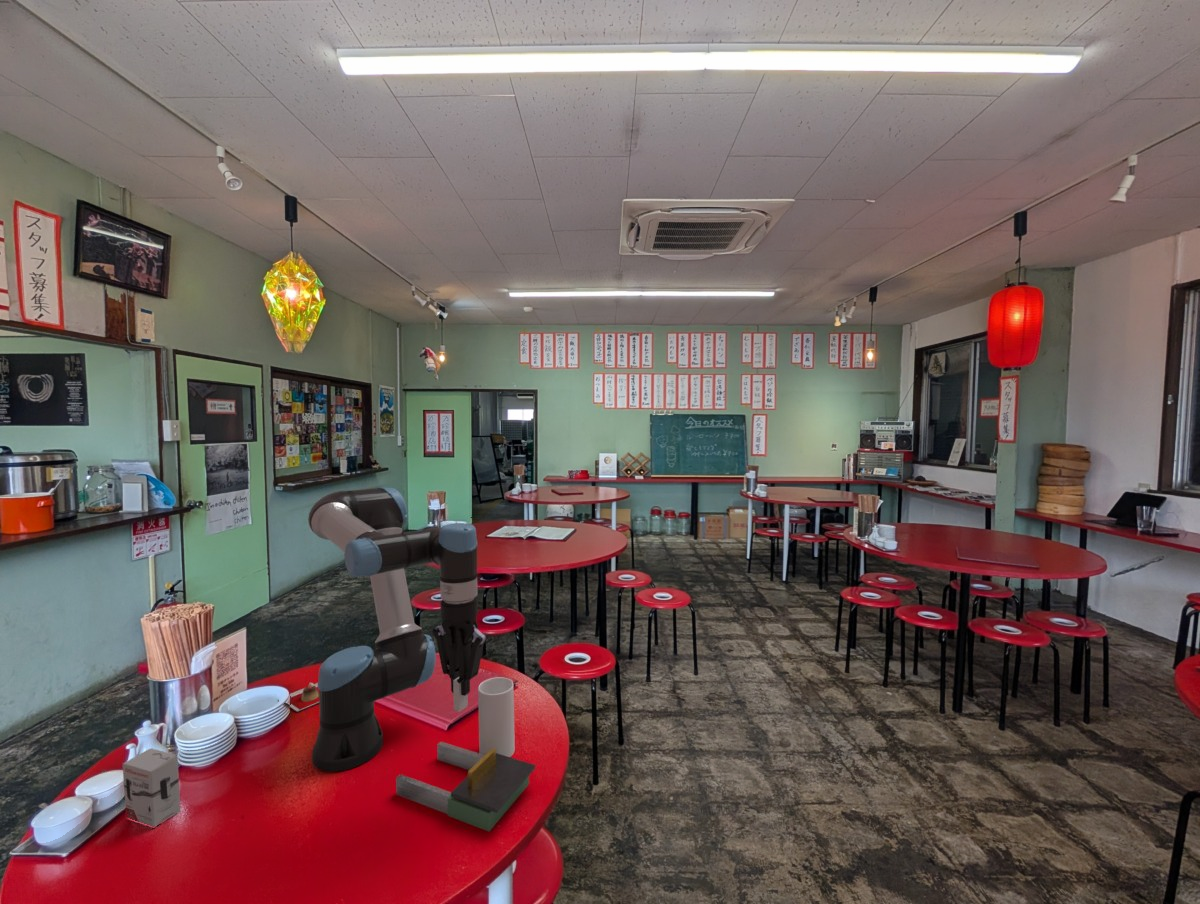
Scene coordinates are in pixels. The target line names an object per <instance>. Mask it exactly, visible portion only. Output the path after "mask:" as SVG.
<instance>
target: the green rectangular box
mask: <svg viewBox="0 0 1200 904" xmlns="http://www.w3.org/2000/svg"><path fill="white" fill-rule="evenodd" d="M529 785H530V775H529V776H528V777H527V779H526V780H525V781H524V782H523V783H522V784H521V786H520V787H519V788H518V789H517V790H516V791H515V793H514V794H513V795H512V796H511V797H510V798H509V800H508V801H507V802H506V803H505V804H504V805H503V807H502V808H501V809H500V810H499V811H498V813H495V812H492V811H490V810H487V809H484V808H481V807H479V806H476V805H473V804H471V803H468V802H465V801H462V800H460V799H457V798H454V797H451V796H450V797H448V798H447V799H448V814H447V816H448V817H449V818H453V819H456V820H458V821H460V822H463V823H465V824H468V825H471V826H474V827H476V828H479V829H481V830H484V831H486V832H491V830H493V828H494V827H495V825H496V824H497V823H498V822H499V821H500V820H501V818H502V817H503V816H504V814H506V812H507V811H508V810H509V809H510V808H511V807H512V805H513V804H514V803H515V801H516V800H517V799H519V797H520V795H522V793H523V792H524V791H525V790H526V788H528V786H529Z"/></svg>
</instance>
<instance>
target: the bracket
mask: <svg viewBox="0 0 1200 904" xmlns="http://www.w3.org/2000/svg"><path fill="white" fill-rule="evenodd" d="M436 745H437V746H436V747H437V751H436V752H437V760H438V761H441V762H443V763H445V764H446V763H447V764H450V765H452V766H456V767H459V768H462V769H464V770H468V771H469V770H470V769H471V768H472V767H473V766H474V765H475V764H476V763H477V762H478V761H479V760H480V759H482V758H483V757H484V756H485V755H483V754H480V752H476V751H472V750H470V749H466V748H463V747H459V746H456V745H453V744H450V743H447V742H444V741H440V742H438V743H437V744H436ZM395 783H396V785H395V786H396V796H399V797H402V798H405V799H406V800H410V801H413V802H415V803H417V804H420V805H423V806H425V807H427V808H431V809H433V810H435V811H438V812H440V813H444V814H446V815H448V799H447V798H448V797H450V796H451V792H452V791H448V790H447V789H442V788H440V787H438V786H436V785H435V786H434V785H431V784H429V783H426V782H423V781H421V780H417V779H415V778H412V777H409V776H407V775H404V774H401V773H400V774H399V775H397V776H396V777H395Z"/></svg>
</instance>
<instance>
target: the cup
mask: <svg viewBox="0 0 1200 904" xmlns="http://www.w3.org/2000/svg"><path fill="white" fill-rule="evenodd" d="M477 692H478V695H477V696H478V697H477V699H478V740H479V741H478V744H479V745H478V746H479V749H478V750H479V752H478V753H479V754H483V755H486V754H487V753H488V752H489V751H490V750H491V749H492V748H493V749H496V753H497V754H501V755H504V756H507V757H511V758H512V756H513V755H514V753H515V748H516V747H515V746H516V745H515V695H514V694H515V693H514V681H513V680H512V679H510V678H508V677H502V676H498V677H497V676H496V677H491V678H487V679H485V680H483V681H482V682H480V684H479V685H478V689H477Z"/></svg>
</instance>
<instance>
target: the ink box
mask: <svg viewBox="0 0 1200 904" xmlns="http://www.w3.org/2000/svg"><path fill="white" fill-rule="evenodd" d="M178 757H179V756H176V754H173V753H171V752H168V751H163V750H159V749H155V748H149V749H147V750H144V751H143V752H141V753H140V754H137V755H136V756H134V757H132V758H130V759H129V760H127V761H125V762H123V763H122V774H123V775H122V777H123V791H124V793H123V795H124V808H125V818H126V817H127V818H130V819H132V820H135V821H138V822H141V823H144V824H147V825H150V826H152V827H155V826H157V825H158V824H160V823H162V822H163V821H165V820H166V819H168V818H169V817H171V816H173V815H175V814H176V813H178V812H179V813H181V797H180V796H181V795H180V776H179V761H178V759H179V758H178ZM179 813H178V814H179ZM176 815H177V814H176ZM176 815H175V816H176ZM173 817H174V816H173ZM165 822H166V821H165ZM162 824H163V823H162Z"/></svg>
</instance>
